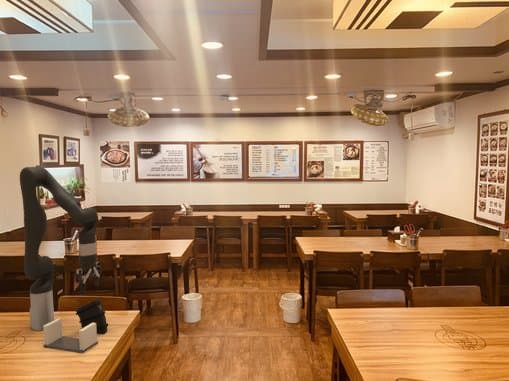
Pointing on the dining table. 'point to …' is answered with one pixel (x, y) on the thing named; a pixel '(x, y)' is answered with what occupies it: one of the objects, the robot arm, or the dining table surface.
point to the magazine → (93, 316)
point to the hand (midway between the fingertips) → (90, 288)
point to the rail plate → (68, 344)
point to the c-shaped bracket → (55, 332)
